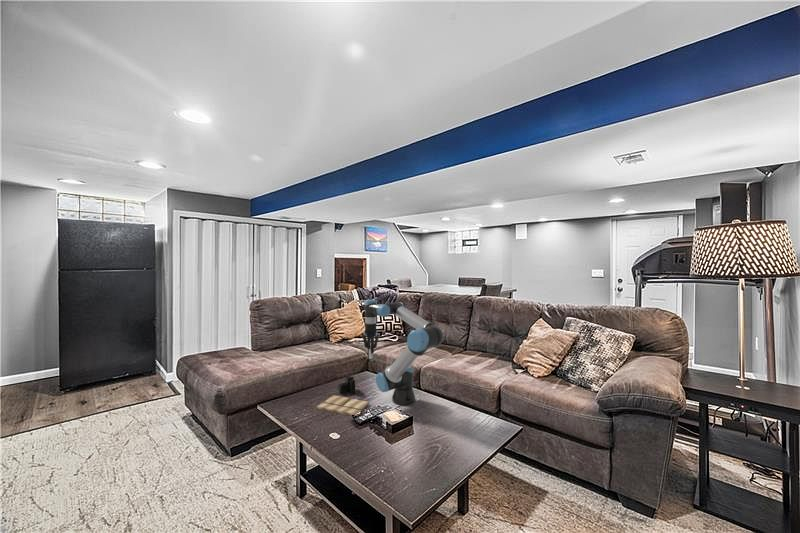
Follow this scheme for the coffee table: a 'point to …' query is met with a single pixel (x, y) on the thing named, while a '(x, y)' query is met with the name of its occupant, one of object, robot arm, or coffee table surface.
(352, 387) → the camera
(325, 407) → the oak row
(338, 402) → the plank
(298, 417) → the coffee table surface
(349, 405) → the plank
